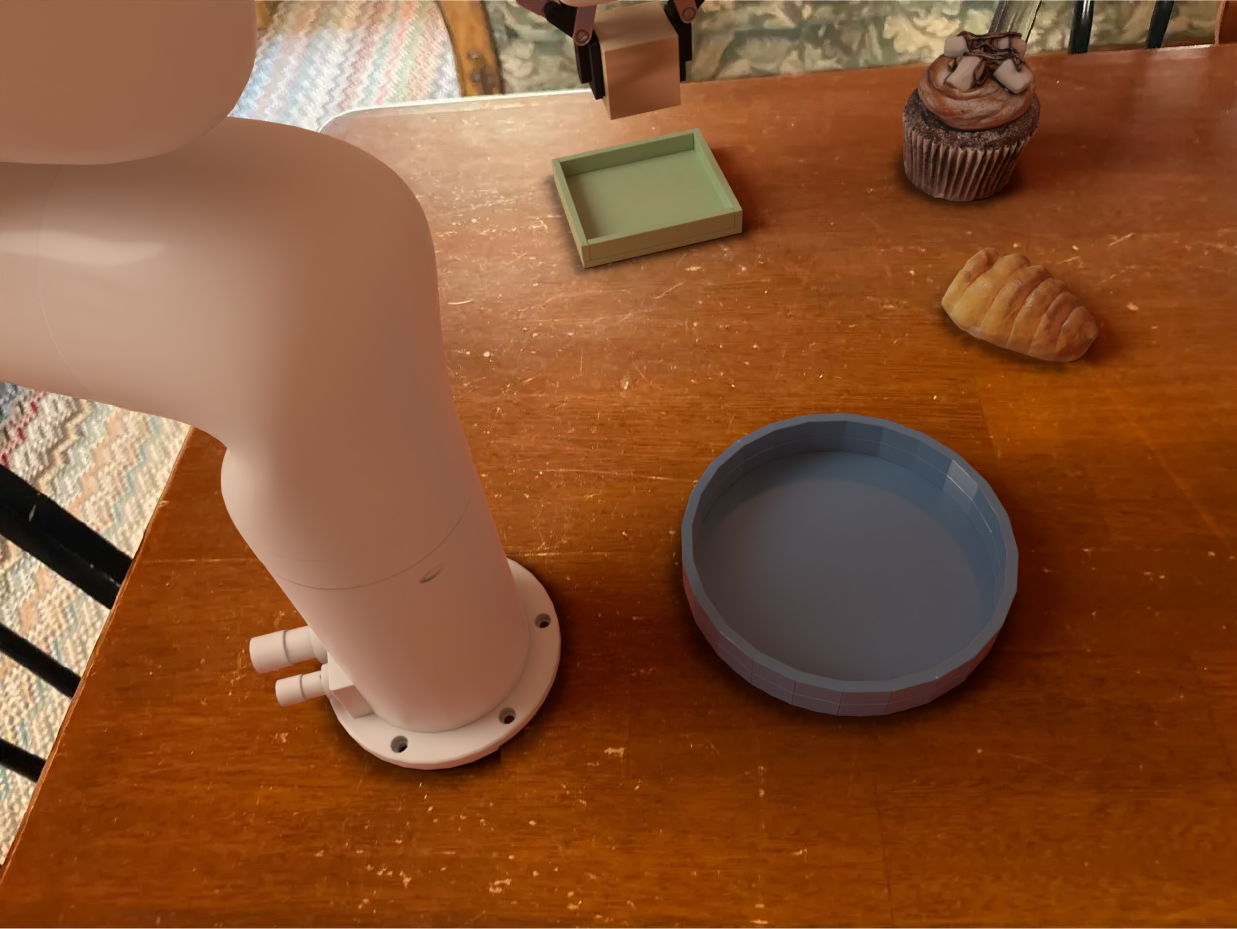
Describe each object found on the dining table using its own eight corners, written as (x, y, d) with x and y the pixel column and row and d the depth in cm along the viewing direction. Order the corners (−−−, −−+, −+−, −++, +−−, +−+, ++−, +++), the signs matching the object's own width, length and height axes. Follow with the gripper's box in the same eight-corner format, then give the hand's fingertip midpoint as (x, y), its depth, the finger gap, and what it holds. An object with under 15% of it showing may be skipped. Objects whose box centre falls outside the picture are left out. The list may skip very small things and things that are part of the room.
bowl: (739, 759, 46) (740, 733, 43) (649, 489, 57) (646, 453, 54) (1063, 670, 47) (1085, 639, 45) (918, 422, 58) (928, 384, 55)
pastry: (1110, 330, 61) (1130, 286, 58) (1055, 389, 59) (1073, 347, 56) (983, 268, 66) (995, 225, 63) (926, 321, 63) (936, 278, 60)
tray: (583, 268, 69) (580, 246, 68) (554, 181, 76) (550, 159, 74) (742, 232, 70) (742, 209, 68) (699, 149, 77) (698, 126, 75)
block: (610, 120, 64) (603, 51, 60) (594, 82, 67) (586, 14, 63) (681, 105, 64) (678, 35, 60) (661, 68, 67) (658, -1, 63)
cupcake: (881, 139, 76) (901, 17, 68) (1003, 128, 75) (1037, 4, 67) (906, 213, 70) (931, 90, 62) (1039, 203, 69) (1080, 77, 61)
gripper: (466, -179, 47) (525, 136, 62) (786, -240, 49) (771, 82, 63) (447, -226, 52) (506, 78, 66) (741, -281, 53) (736, 29, 68)
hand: (635, 77), depth 65 cm, fingers closed on block, 5 cm apart
